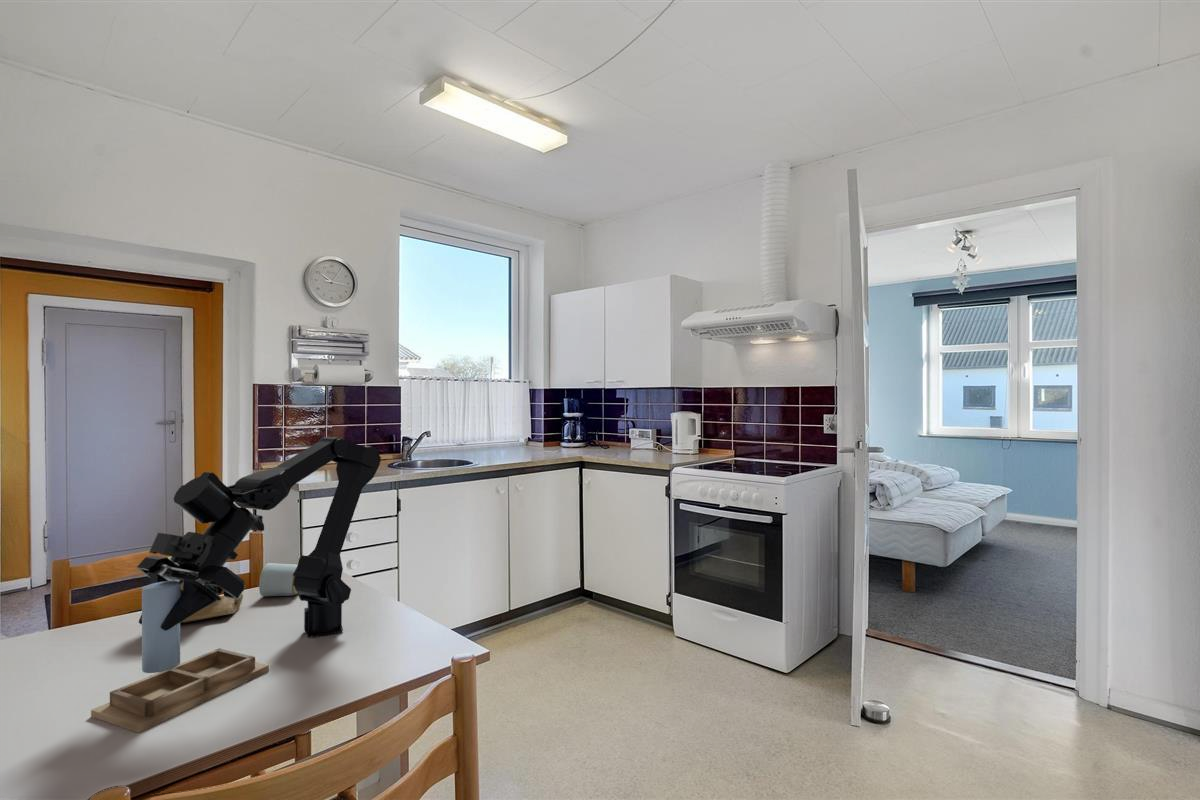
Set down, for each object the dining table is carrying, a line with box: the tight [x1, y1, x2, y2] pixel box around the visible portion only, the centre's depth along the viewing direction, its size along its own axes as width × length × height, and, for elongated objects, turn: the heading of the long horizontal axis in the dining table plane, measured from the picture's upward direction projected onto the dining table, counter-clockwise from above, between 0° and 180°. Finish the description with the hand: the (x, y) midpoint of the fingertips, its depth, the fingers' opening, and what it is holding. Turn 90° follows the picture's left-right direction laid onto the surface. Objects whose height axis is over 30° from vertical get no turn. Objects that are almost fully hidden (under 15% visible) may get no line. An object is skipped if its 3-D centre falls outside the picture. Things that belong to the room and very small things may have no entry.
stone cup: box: [167, 556, 244, 624], centre depth 129 cm, size 15×12×15 cm
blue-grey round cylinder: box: [141, 581, 181, 674], centre depth 93 cm, size 5×5×12 cm
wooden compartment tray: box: [90, 648, 270, 733], centre depth 97 cm, size 21×11×3 cm, turn 158°
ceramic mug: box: [258, 562, 298, 597], centre depth 146 cm, size 11×8×8 cm
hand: (152, 626), depth 92 cm, fingers closed on blue-grey round cylinder, 5 cm apart
